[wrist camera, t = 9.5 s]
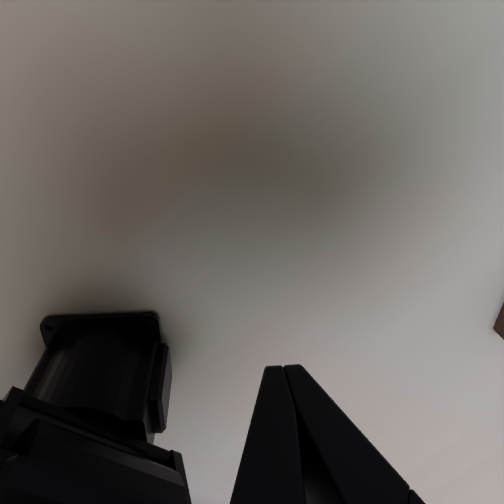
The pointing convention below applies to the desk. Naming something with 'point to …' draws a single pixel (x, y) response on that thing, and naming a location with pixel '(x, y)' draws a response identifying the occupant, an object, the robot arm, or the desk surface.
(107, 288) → the desk surface
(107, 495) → the robot arm
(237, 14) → the desk surface
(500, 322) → the joist marks
